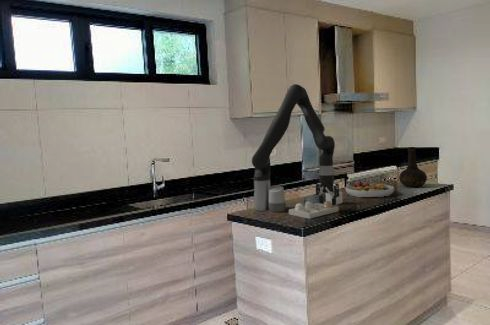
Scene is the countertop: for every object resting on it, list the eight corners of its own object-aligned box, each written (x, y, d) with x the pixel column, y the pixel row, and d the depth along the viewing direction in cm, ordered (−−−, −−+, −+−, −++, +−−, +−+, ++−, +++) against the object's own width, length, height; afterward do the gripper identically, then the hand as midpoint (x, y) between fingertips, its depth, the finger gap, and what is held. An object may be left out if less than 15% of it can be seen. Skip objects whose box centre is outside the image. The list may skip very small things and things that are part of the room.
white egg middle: (303, 211, 208) (302, 201, 207) (308, 210, 210) (308, 200, 210) (309, 212, 204) (308, 202, 204) (314, 211, 207) (314, 201, 206)
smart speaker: (265, 212, 214) (264, 187, 213) (276, 209, 221) (275, 185, 220) (278, 214, 208) (277, 188, 206) (289, 211, 214) (288, 186, 213)
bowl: (404, 195, 244) (404, 183, 243) (365, 200, 233) (365, 188, 232) (372, 189, 272) (372, 178, 271) (336, 194, 261) (336, 182, 260)
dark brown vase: (430, 185, 273) (429, 146, 271) (422, 189, 260) (421, 147, 257) (404, 184, 285) (403, 146, 282) (395, 187, 272) (394, 148, 269)
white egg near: (293, 214, 203) (293, 203, 203) (299, 212, 206) (299, 202, 206) (299, 215, 200) (299, 204, 199) (305, 213, 202) (305, 203, 202)
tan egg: (322, 211, 206) (321, 201, 206) (327, 210, 209) (327, 199, 208) (328, 212, 202) (328, 202, 202) (333, 211, 205) (333, 200, 205)
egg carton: (288, 215, 204) (288, 209, 204) (317, 208, 217) (317, 203, 217) (309, 220, 192) (309, 213, 192) (338, 212, 205) (338, 206, 205)
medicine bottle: (332, 201, 234) (331, 182, 233) (342, 203, 229) (342, 183, 228) (325, 203, 229) (325, 183, 228) (336, 205, 224) (335, 184, 223)
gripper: (341, 173, 200) (342, 204, 202) (321, 172, 212) (322, 201, 213) (332, 175, 196) (333, 207, 197) (311, 173, 207) (312, 203, 209)
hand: (327, 204), depth 205 cm, fingers open, 8 cm apart
